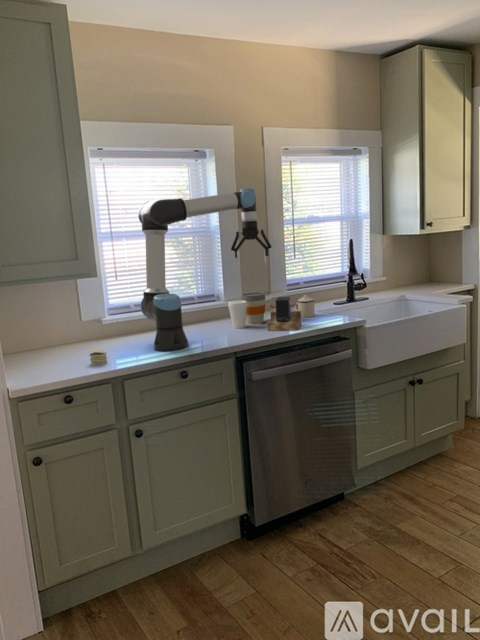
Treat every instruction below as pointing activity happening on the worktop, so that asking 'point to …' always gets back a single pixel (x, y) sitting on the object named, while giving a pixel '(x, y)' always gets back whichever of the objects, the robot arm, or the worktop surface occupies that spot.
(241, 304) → the foam cup
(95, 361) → the stacked layers on plate
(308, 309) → the teacup with lid
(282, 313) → the small box
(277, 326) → the dock
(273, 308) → the lidded bowl
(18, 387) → the worktop surface
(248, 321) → the reusable coffee cup
